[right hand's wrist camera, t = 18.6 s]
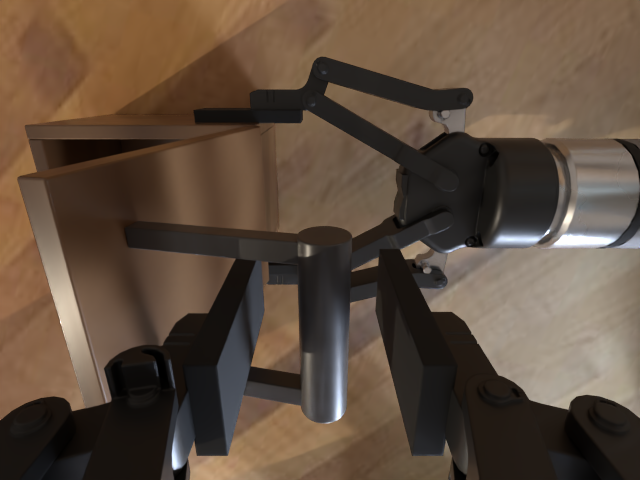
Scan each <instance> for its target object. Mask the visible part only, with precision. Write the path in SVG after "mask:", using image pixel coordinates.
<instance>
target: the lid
mask: <svg viewBox="0 0 640 480" xmlns="http://www.w3.org/2000/svg"><path fill="white" fill-rule="evenodd" d="M17 180H18V183H19V186H20V190H21V193H22V196H23V200H24V203H25V207H26V210H27V213H28V217H29V220H30V223H31V227H32V230H33V233H34V237H35V240H36V243H37V247H38V250H39V253H40V257H41V260H42V263H43V267H44V270H45V274H46V277H47V280H48V284H49V287H50V290H51V294H52V297H53V300H54V304H55V307H56V310H57V314H58V317H59V320H60V324H61V327H62V331H63V334H64V337H65V341H66V344H67V347H68V351H69V354H70V357H71V361H72V364H73V367H74V371H75V374H76V377H77V381H78V384H79V387H80V391H81V394H82V398H83V401H84V404H85V408H89V407H93V406H98V405H101V404H105V403H108V402H111V395H110V391H109V387H108V383H107V379H106V375H105V371H104V367H105V366H106V365H107V363H108V362H109V361H110V360H111V359H112V358H114V357H115V356H116V355H118V354H119V353H121V352H123V351H125V350H128V349H130V348H133V347H137V346H141V345H158V346H162V345H163V342H164V341H165V339H166V338H167V336H169V333H170V331H171V330H172V328H173V326H174V325H175V323H176V322H177V321H179V320H180V319H181V318H183V317H184V316H185V315H187V314H188V313H209V311H210V309H211V307H212V305H213V303H214V301H215V299H216V297H217V295H218V293H219V291H220V289H221V287H222V285H223V283H224V281H225V279H226V277H227V275H228V273H229V271H230V269H231V267H232V265H233V263H234V261H235V259H244V260H254V261H261V264H262V280H263V287H264V286H265V285H266V283H267V282H268V281H269V269H268V262H274V263H284V264H294V265H298V303H299V342H300V374H294V373H288V372H282V371H276V370H269V369H263V368H257V367H251V366H250V370H249V374H248V378H247V382H246V386H245V390H244V394H243V395H245V396H250V397H256V398H261V399H267V400H272V401H278V402H283V403H289V404H294V405H300V406H301V408H302V411H303V413H304V415H305V416H306V417H307V418H309V419H310V420H312V421H314V422H317V423H331V422H334V421H336V420H338V419H340V418H341V417H342V416H343V414H344V413H345V411H346V408H347V382H348V352H349V321H350V290H351V259H352V235H351V233H350V232H348V231H347V230H344V229H341V228H337V227H330V226H318V227H311V228H307V229H304V230H302V231H301V232H299V233H298V234H293V233H280V232H268V231H266V216H265V199H264V181H263V163H262V146H261V128H260V126H244V127H239V128H235V129H230V130H226V131H221V132H217V133H212V134H208V135H203V136H199V137H194V138H190V139H185V140H181V141H176V142H172V143H167V144H162V145H158V146H153V147H149V148H144V149H140V150H135V151H131V152H126V153H122V154H117V155H113V156H108V157H104V158H99V159H95V160H90V161H86V162H81V163H77V164H72V165H68V166H63V167H59V168H54V169H50V170H45V171H40V172H36V173H31V174H27V175H22V176H19V177H18V179H17Z"/></svg>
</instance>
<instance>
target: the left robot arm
mask: <svg viewBox="0 0 640 480" xmlns="http://www.w3.org/2000/svg"><path fill="white" fill-rule="evenodd" d="M328 82H330V83H333V84H337V85H340V86H343V87H347V88H350V89H353V90H357V91H360V92H364V93H367V94H370V95H374V96H377V97H380V98H384V99H387V100H391V101H394V102H397V103H401V104H404V105H407V106H411V107H415V108H419V109H424V110H429V116H430V119H431V120H432V121H434V122H438V123H441V124H442V125H443V126H444V128H445V132H444V133H442V134H441V135H439V136H438V137H436V138H435V139H433V140H432V141H431V142H429V143H428V144H426V145H425V146H423V147H422V148H420V149H419V150H415V149H414V148H412V147H410V146H409V145H407V144H405V143H404V142H402V141H400V140H399V139H397V138H395V137H393V136H392V135H390V134H388V133H387V132H385V131H383V130H382V129H380V128H378V127H377V126H375V125H373V124H372V123H370V122H368V121H366V120H365V119H363V118H361V117H360V116H358V115H356V114H355V113H353V112H351V111H350V110H348V109H346V108H345V107H343V106H341V105H340V104H338V103H336V102H334V101H333V100H331V99H329V98H328V97H326V96H324V93H325V90H326V88H327V85H328ZM472 101H473V93H472V92H471V90H469V89H468V88H446V89H434V90H432V89H429V88H426V87H423V86H419V85H416V84H413V83H409V82H406V81H403V80H399V79H396V78H393V77H390V76H386V75H383V74H380V73H376V72H373V71H370V70H366V69H363V68H360V67H356V66H353V65H350V64H347V63H343V62H340V61H337V60H333V59H330V58H327V57H319V58H317V59H316V60H315V61H314V63H313V66H312V69H311V72H310V75H309V78H308V81H307V83H306V85H305V86H304V87H303V88H301V89H297V90H256V91H254V92H251V93H250V105H251V108H203V109H197V110H194V119H195V123H301V122H302V120H303V110H308V111H310V112H312V113H313V114H315V115H317V116H319V117H320V118H322V119H324V120H325V121H327V122H329V123H331V124H332V125H334V126H336V127H337V128H339V129H341V130H343V131H344V132H346V133H348V134H350V135H351V136H353V137H355V138H356V139H358V140H360V141H362V142H363V143H365V144H367V145H368V146H370V147H372V148H374V149H375V150H377V151H379V152H381V153H382V154H384V155H386V156H387V157H389V158H391V159H392V160H394V161H395V162H397V163H399V164H400V167H399V169H397V171H396V183H397V188H398V192H397V195H396V198H395V201H394V213H395V215H393V216H391V217H389V218H387V219H385V220H384V221H383V222H382V223H381V224H380V225H378V226H376V227H374V228H372V229H370V230H368V231H366V232H364V233H362V234H360V235H358V236H357V237H355V238H353V239H352V259H351V270H353V269H355V268H357V267H359V266H361V265H363V264H365V263H367V262H369V261H371V260H373V259H375V258H377V257H379V249H403V248H405V247H407V246H409V245H411V244H413V243H415V242H417V241H419V240H420V241H422V242H423V243H424V244H426V245H427V246H428V247H430V248H431V249H430V250H429V251H428V252H427V253H425V254H418V255H417V256H416V258H415V259H407V260H405V261H406V263H407V265H408V267H409V269H410V271H411V273H412V275H413V277H414V279H415V281H416V283H417V285H418V287H419V288H429V289H442V288H444V287H445V286H446V284H447V278H446V276H445V275H444V268H445V263H446V259H447V254H448V253H450V252H453V251H455V250H457V249H459V248H463V247H473V248H528V247H531V246H533V247H537V248H640V139H569V138H546V139H543V140H540V141H539V140H538V139H535V138H474V137H472V136H470V135H468V134H467V133H465V132H464V130H465V112H466V108H467V107H468V106H470V104H471V103H472ZM268 269H269V281H268V282H267V283H266V284H297V285H298V265H294V264H284V263H274V262H268ZM377 280H378V266H375V267H371V268H367V269H363V270H359V271H355V272H351V290H350V303H351V302H355V301H359V300H363V299H368V298H372V297H376V296H377Z"/></svg>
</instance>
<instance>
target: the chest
mask: <svg viewBox="0 0 640 480" xmlns="http://www.w3.org/2000/svg"><path fill="white" fill-rule="evenodd" d="M244 126H260V128H261V146H262V163H263V181H264V199H265V216H266V231H268V232H277V231H278V228H279V211H278V188H277V165H276V142H275V123H195V119H194V114H124V115H104V116H95V117H87V118H79V119H71V120H63V121H55V122H47V123H39V124H31V125H25V129H26V133H27V137H28V139H30V140H29V144H30V147H31V151H32V154H33V158H34V162H35V165H36V169H37V172H40V171H45V170H50V169H54V168H59V167H63V166H68V165H72V164H77V163H81V162H86V161H90V160H95V159H99V158H104V157H108V156H113V155H117V154H122V153H126V152H131V151H135V150H140V149H144V148H149V147H153V146H158V145H162V144H167V143H172V142H176V141H181V140H185V139H190V138H194V137H199V136H203V135H208V134H212V133H217V132H221V131H226V130H230V129H235V128H239V127H244Z"/></svg>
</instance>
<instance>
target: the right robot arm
mask: <svg viewBox="0 0 640 480" xmlns="http://www.w3.org/2000/svg"><path fill="white" fill-rule="evenodd" d="M263 315H264V296H263V280H262V264H261V261H254V260H244V259H235V261H234V263H233V265H232V267H231V269H230V271H229V273H228V275H227V277H226V279H225V281H224V283H223V285H222V287H221V289H220V291H219V293H218V295H217V297H216V299H215V301H214V303H213V305H212V307H211V309H210V311H209V313H188V314H187V315H185V316H184V317H183V318H181V319H180V320H179V321H177V322H176V323H175V325H174V326H173V328H172V330H171V331H170V333H169V336H167V338H166V339H165V341H164V342H163V345H162V346H158V345H141V346H137V347H133V348H130V349H128V350H125V351H123V352H121V353H119V354H118V355H116V356H115V357H114V358H112V359H111V360H110V361H109V362H108V363H107V365H106V366H105V367H104V371H105V375H106V379H107V383H108V387H109V391H110V395H111V402H108V403H105V404H101V405H98V406H93V407H89V408H85V409H81V410H76V411H72V410H71V406H70V403H69V402H67V401H66V400H65V399H64V398H60V397H46V398H40V399H37V400H34V401H31V402H28V403H26V404H24V405H22V406H20V407H18V408H16V409H15V410H13V411H11V412H10V413H9V414H8V415H6V416H5V417H4V418H3V419H2V420H0V480H190V467H189V461H188V456H189V453H190V450H191V448H192V445H193V442H194V441H195V447H196V453H197V456H228V453H229V449H230V445H231V441H232V437H233V433H234V429H235V425H236V422H237V418H238V414H239V410H240V406H241V402H242V398H243V394H244V390H245V386H246V382H247V378H248V374H249V370H250V366H251V362H252V358H253V354H254V350H255V346H256V342H257V338H258V334H259V330H260V326H261V323H262V319H263ZM376 315H377V319H378V323H379V326H380V330H381V334H382V338H383V342H384V346H385V350H386V354H387V358H388V362H389V366H390V370H391V374H392V378H393V382H394V386H395V390H396V394H397V398H398V402H399V406H400V410H401V414H402V418H403V422H404V426H405V429H406V433H407V437H408V441H409V445H410V449H411V453H412V456H443V453H444V447H445V441H446V440H447V443H448V446H449V448H450V451H451V454H452V461H451V467H450V472H449V478H448V480H640V418H639V417H637V416H636V415H635V414H634V413H632V412H631V411H630V410H629V409H627V408H625V407H623V406H622V405H620V404H618V403H616V402H614V401H611V400H608V399H605V398H602V397H599V396H591V395H583V396H578V397H576V398H575V399H574V400H572V401H571V403H570V406H569V410H566V409H562V408H558V407H553V406H549V405H545V404H541V403H537V402H534V401H531V400H529V399H528V397H527V396H526V394H525V392H524V391H523V390H522V389H521V388H520V387H519V386H518V385H516V384H515V383H514V382H512V381H510V380H508V379H506V378H504V377H502V376H498V374H497V373H496V371H495V370H494V368H493V366H492V365H491V363H490V362H489V360H488V358H487V357H486V355H485V354H484V352H483V350H482V349H481V347H480V346H479V344H477V341H476V339H475V338H474V336H473V335H471V331H470V330H469V328H468V326H467V325H466V323H465V322H464V321H463V320H462V319H460V318H459V317H458V316H456V315H455V314H454V313H452V312H431V311H430V309H429V307H428V305H427V303H426V301H425V299H424V297H423V295H422V293H421V291H420V289H419V287H418V285H417V283H416V281H415V279H414V277H413V275H412V273H411V271H410V269H409V267H408V265H407V263H406V261H405V259H404V257H403V255H402V253H401V251H400V249H379V264H378V280H377V296H376Z"/></svg>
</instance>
